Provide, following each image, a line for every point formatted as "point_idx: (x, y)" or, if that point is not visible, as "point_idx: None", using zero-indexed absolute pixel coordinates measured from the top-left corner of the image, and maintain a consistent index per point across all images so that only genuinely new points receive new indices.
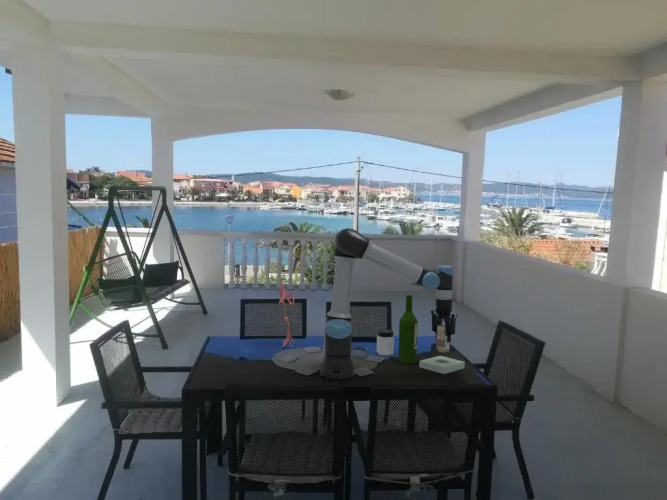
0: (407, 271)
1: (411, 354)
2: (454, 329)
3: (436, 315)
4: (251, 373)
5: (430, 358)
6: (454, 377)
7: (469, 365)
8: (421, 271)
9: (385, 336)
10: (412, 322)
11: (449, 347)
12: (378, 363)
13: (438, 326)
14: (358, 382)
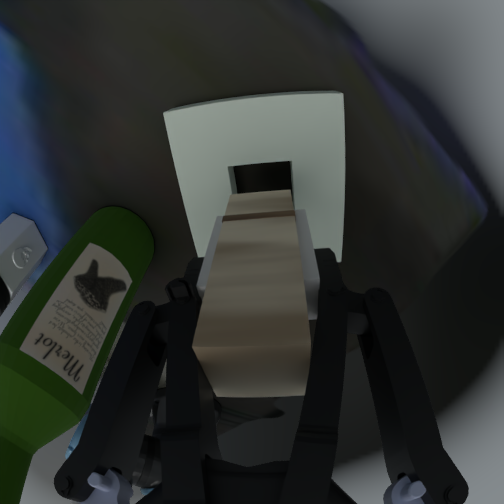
0: None
1: (141, 275)
2: (400, 337)
3: (110, 454)
4: (147, 432)
5: (188, 203)
6: (385, 241)
7: (310, 24)
8: None
9: (9, 302)
10: (81, 411)
11: (305, 213)
12: (124, 320)
13: (231, 392)
14: (250, 405)
